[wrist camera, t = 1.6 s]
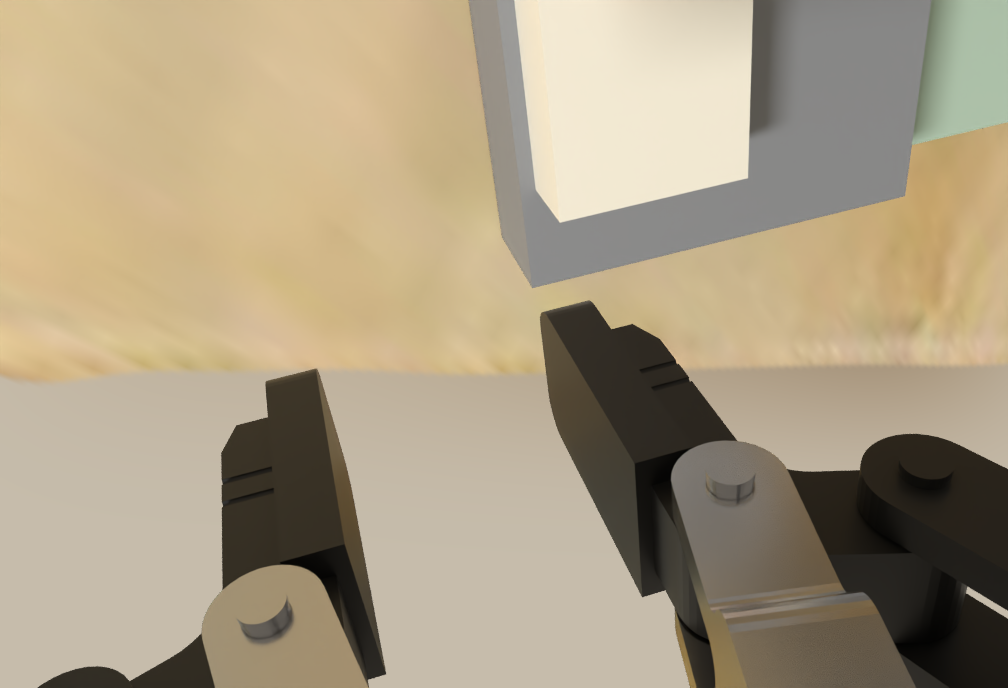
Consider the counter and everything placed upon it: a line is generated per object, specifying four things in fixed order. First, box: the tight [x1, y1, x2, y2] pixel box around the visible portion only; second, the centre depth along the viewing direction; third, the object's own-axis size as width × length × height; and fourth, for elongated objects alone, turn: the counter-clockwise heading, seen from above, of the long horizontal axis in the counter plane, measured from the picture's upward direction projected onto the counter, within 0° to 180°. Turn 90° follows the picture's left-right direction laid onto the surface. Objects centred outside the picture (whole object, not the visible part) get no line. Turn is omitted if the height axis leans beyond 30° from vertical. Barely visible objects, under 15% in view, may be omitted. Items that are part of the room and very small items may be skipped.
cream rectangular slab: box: [514, 0, 753, 223], centre depth 25 cm, size 9×6×4 cm, turn 7°
